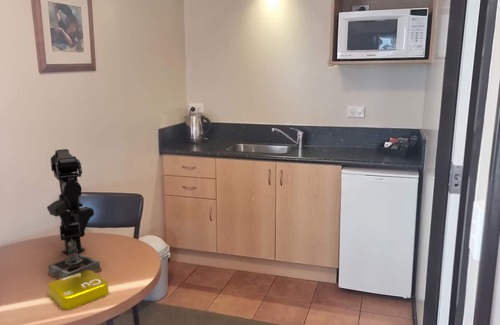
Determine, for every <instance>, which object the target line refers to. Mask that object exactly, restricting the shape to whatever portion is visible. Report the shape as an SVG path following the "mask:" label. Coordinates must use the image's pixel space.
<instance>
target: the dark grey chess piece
mask: <svg viewBox="0 0 500 325" xmlns="http://www.w3.org/2000/svg"><path fill="white" fill-rule="evenodd" d="M77 251H78V249H77V246H76V242H75V241H73V239H71V241H69V242H68V251H67V252H68V253H69V255H68V258H69V259H67V258H66V259H67V260H66V261H65V263H66V265H67V267H68V268H69V269H68V270H67V271H68V272H71V271H74V270H76V269H79V268H81V266H80V265H81V263H82V260H83V259H82V258H80V257H78V254H79V253H77Z"/></svg>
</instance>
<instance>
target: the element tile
mask: <svg viewBox="0 0 500 325" xmlns="http://www.w3.org/2000/svg"><path fill="white" fill-rule="evenodd" d="M47 289H48V290H47V291H48V297H49V298H50V299H52V300H53V302H54V303H55V304H57V305H58V307H60V308H61V309H62V310H65V311H68V310H69V311H70V310H73V309H75V308H77V307H80V306H83V305H85V304H86V305H87V304H89V303H91V302H94V301H97V300H99V299H101V298H104V297H107V296H108V295H109V283H108V280H106V279H104V278H103V277H101V276H100V275H99V274H98V273H95V272H93V271H91V270H87V271H83V272H80V273H77V274H74V275H71V276H68V277H65V278H62V279H58V280H57V279H56V280H52V281H50V282H49V283H48V284H47Z"/></svg>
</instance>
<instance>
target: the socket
mask: <svg viewBox="0 0 500 325" xmlns="http://www.w3.org/2000/svg"><path fill="white" fill-rule="evenodd" d="M78 257H80V258H82V259H83V260H82V263H81V265H80V266H81V268H79V269H76V270H74V271H71V272H68V271H67V270H68V269H69V268H68V267H67V265H66V263H65V261H66V260H67V259H69V257H67V258H65V259H62V260H60V261H57V262H54V263H51V264H49V265H48V271H47V275H48V276H50V277H51V278H53V279H56V280H58V279H62V278H65V277H68V276H71V275H74V274H77V273H80V272H83V271H87V270H91V271H93V272H95V273H96V274H98V273H101V272H102V267H101V262H100V260H97V259H94V258H91V257H89V256H86V255H85V254H84V255H83V254H81V253H78Z"/></svg>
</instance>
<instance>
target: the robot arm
mask: <svg viewBox="0 0 500 325" xmlns="http://www.w3.org/2000/svg"><path fill="white" fill-rule="evenodd" d="M50 168H51V172H53V176H54V178H55V179H56V180H57V181H58V183H59V184H58V185H59V189H60V194H59V195H58V199H57V200H56V201H55V200H54V201H53V202H51V204H49V205H48V206H46V209H47V211H48V212H49V214H50V216H54V217H57V218H58V217H59V218H60V220H61V221H60V225H59V237H60V240H61V241H64V249H62V250H61V252H62V253H63V254H66V255H68V256H69V253H68V252H67V251H68V242H69V241H71V239H73V241H75V242H76V246H77V249H78V251H77V253H78V254H80V253H81V252H84V251H85V250H86V249H85V248H82V242H81V238H83V237H85V235H86V234H85V232H86V227H87V225H88V223H89V221H90V219H91V218H93V216H95V210H94V208H92V207H88V206H84V205H83V203H81V201H80V200H81V199H80V197H81V196H82V186H81V184H80V182H79V179H78V178H79V177H82V174H83V168H82V164H81V162H80V159H79V158H78V159H77V156H75V155H72V154H71V153H70V151H69V149H67V148H63V149H56V150H55V151H54V155H52V156H51V157H50ZM83 206H84V207H83Z"/></svg>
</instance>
